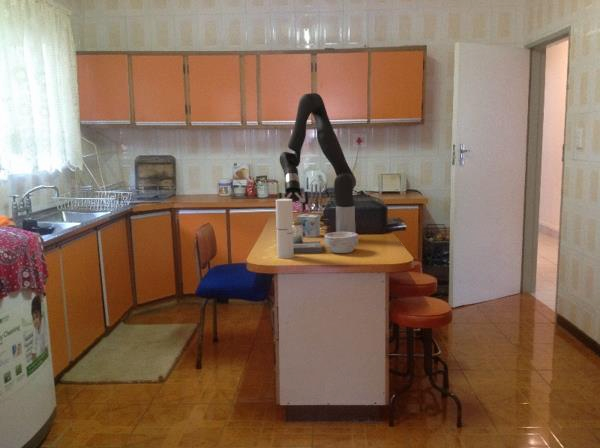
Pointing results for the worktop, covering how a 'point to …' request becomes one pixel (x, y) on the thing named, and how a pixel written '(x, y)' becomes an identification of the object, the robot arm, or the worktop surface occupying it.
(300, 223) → the tea tin
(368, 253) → the worktop surface
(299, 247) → the display shelf
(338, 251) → the paper bowls
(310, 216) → the light bulb box
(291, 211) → the cylindrical container
